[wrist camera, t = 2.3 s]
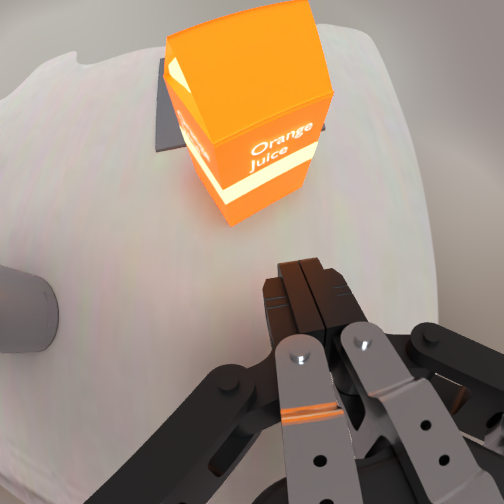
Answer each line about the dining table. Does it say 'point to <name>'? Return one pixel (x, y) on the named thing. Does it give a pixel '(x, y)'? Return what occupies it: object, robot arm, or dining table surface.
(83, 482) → the dining table surface
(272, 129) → the orange juice
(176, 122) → the mat
